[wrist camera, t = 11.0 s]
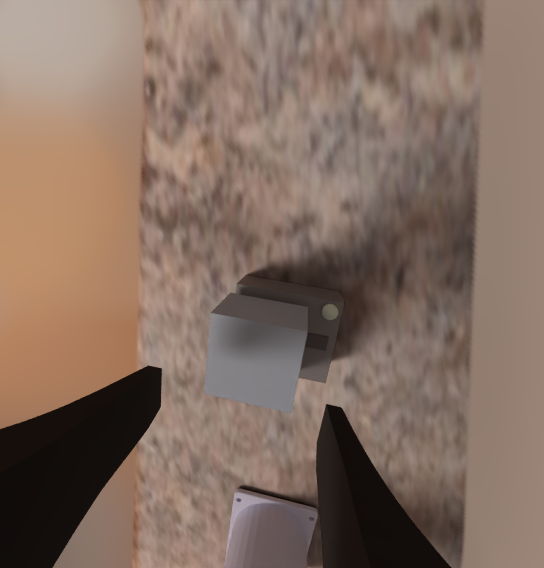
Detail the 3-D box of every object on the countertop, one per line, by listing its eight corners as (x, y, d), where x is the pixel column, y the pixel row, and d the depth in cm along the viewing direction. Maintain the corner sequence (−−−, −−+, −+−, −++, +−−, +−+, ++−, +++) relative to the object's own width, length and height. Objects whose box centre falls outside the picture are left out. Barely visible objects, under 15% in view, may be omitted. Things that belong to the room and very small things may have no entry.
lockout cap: (294, 375, 17) (291, 413, 14) (223, 360, 18) (204, 393, 15) (308, 306, 16) (307, 331, 13) (230, 292, 16) (210, 312, 13)
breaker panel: (323, 363, 20) (325, 386, 18) (237, 345, 21) (227, 365, 18) (340, 291, 19) (345, 304, 16) (245, 275, 19) (235, 284, 17)
